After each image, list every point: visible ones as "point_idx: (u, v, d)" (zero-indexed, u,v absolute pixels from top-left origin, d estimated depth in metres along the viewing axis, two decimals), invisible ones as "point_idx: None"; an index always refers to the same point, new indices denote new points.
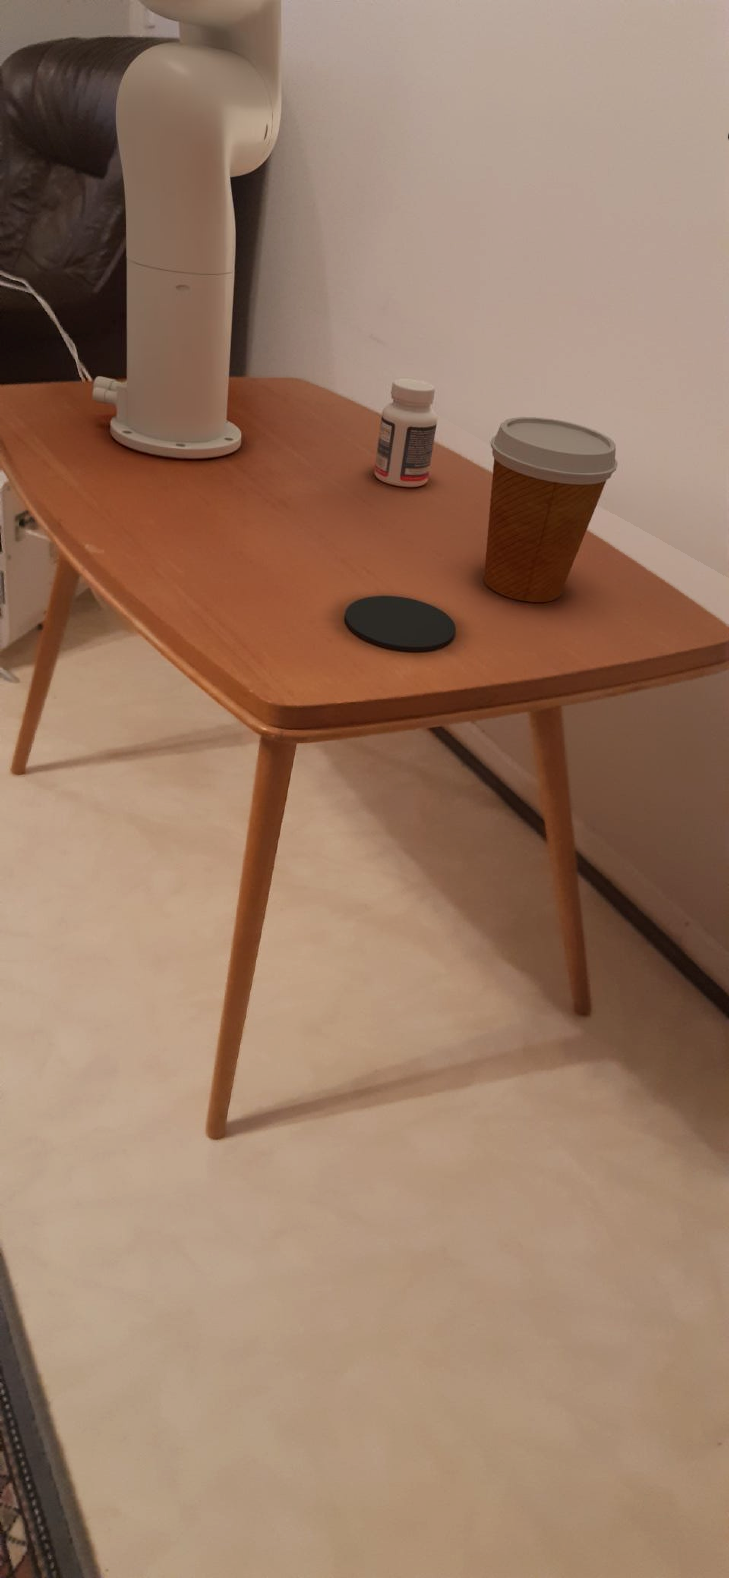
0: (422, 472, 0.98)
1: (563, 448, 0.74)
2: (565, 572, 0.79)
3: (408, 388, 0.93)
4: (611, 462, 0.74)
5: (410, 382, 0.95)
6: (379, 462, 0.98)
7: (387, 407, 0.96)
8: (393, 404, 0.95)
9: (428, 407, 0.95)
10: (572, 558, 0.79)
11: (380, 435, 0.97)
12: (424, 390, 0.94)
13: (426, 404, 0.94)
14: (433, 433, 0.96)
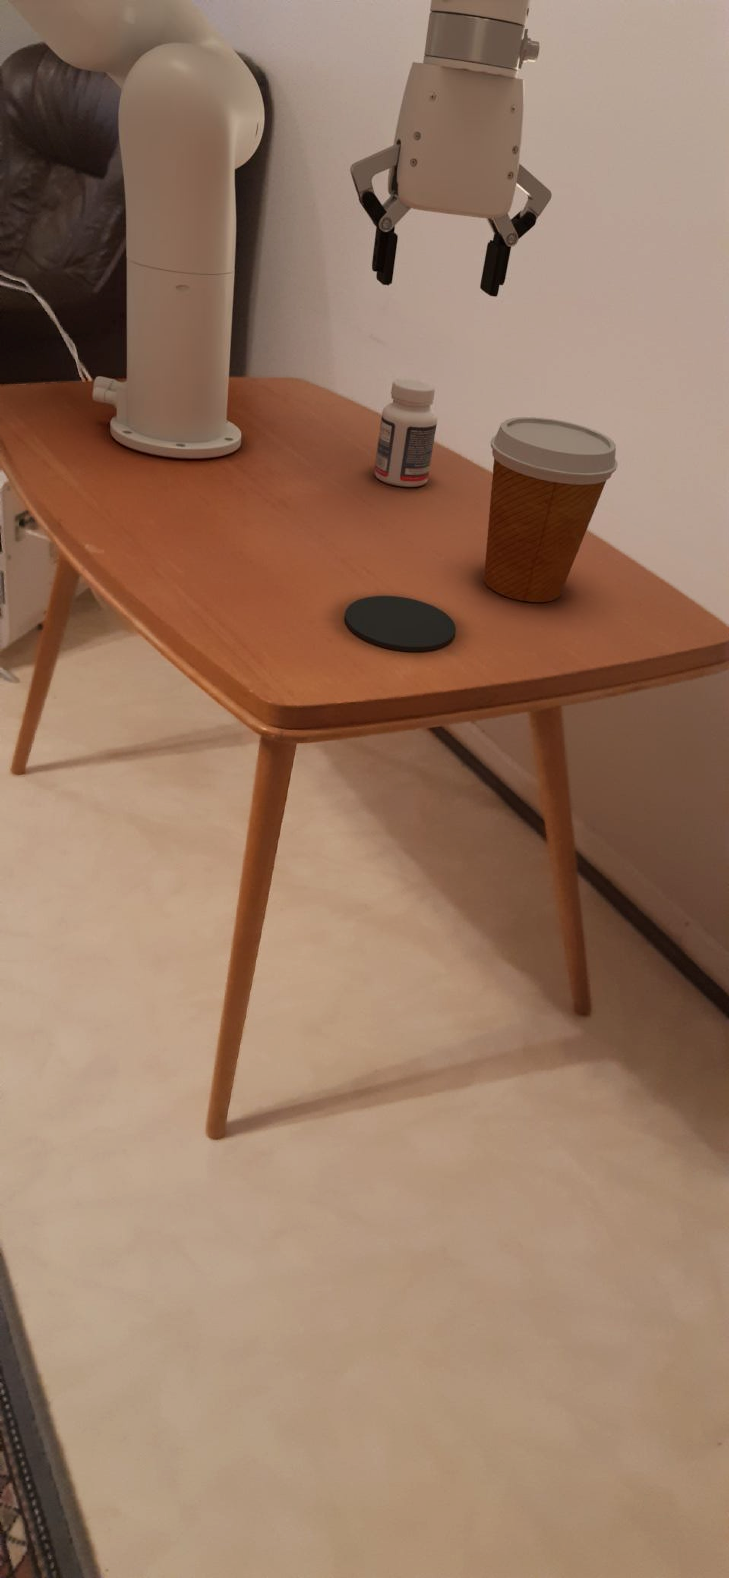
0: (422, 472, 0.98)
1: (563, 448, 0.74)
2: (565, 572, 0.79)
3: (408, 388, 0.93)
4: (611, 462, 0.74)
5: (410, 382, 0.95)
6: (379, 462, 0.98)
7: (387, 407, 0.96)
8: (393, 404, 0.95)
9: (428, 407, 0.95)
10: (572, 558, 0.79)
11: (380, 435, 0.97)
12: (424, 390, 0.94)
13: (426, 404, 0.94)
14: (433, 433, 0.96)
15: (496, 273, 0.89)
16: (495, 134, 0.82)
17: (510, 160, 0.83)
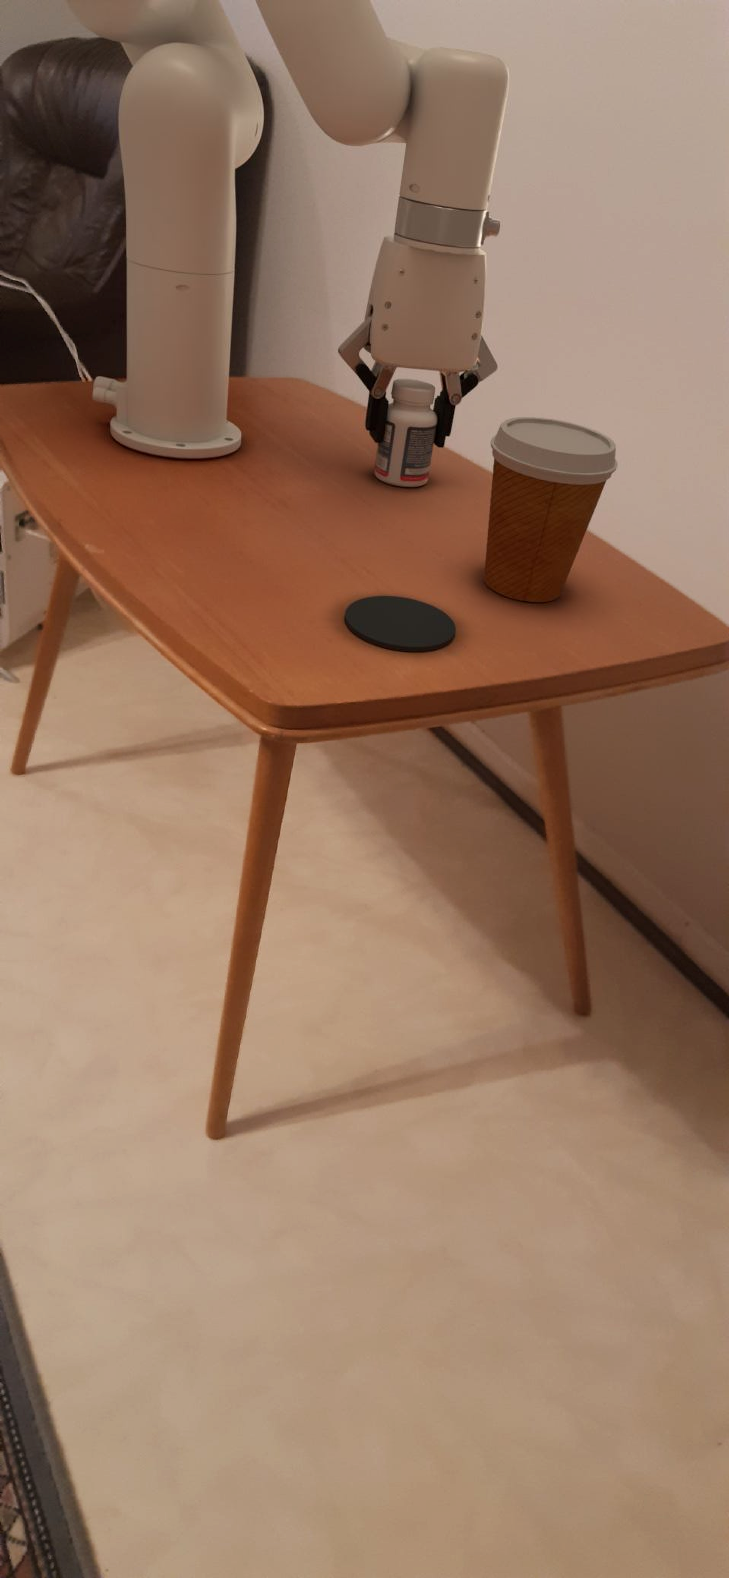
0: (422, 473, 0.98)
1: (563, 448, 0.74)
2: (565, 572, 0.79)
3: (408, 388, 0.93)
4: (611, 462, 0.74)
5: (410, 382, 0.95)
6: (379, 462, 0.98)
7: None
8: (393, 404, 0.95)
9: (428, 407, 0.95)
10: (572, 558, 0.79)
11: None
12: (424, 390, 0.94)
13: (426, 404, 0.94)
14: (433, 433, 0.96)
15: (442, 428, 0.96)
16: (460, 302, 0.89)
17: (474, 323, 0.91)
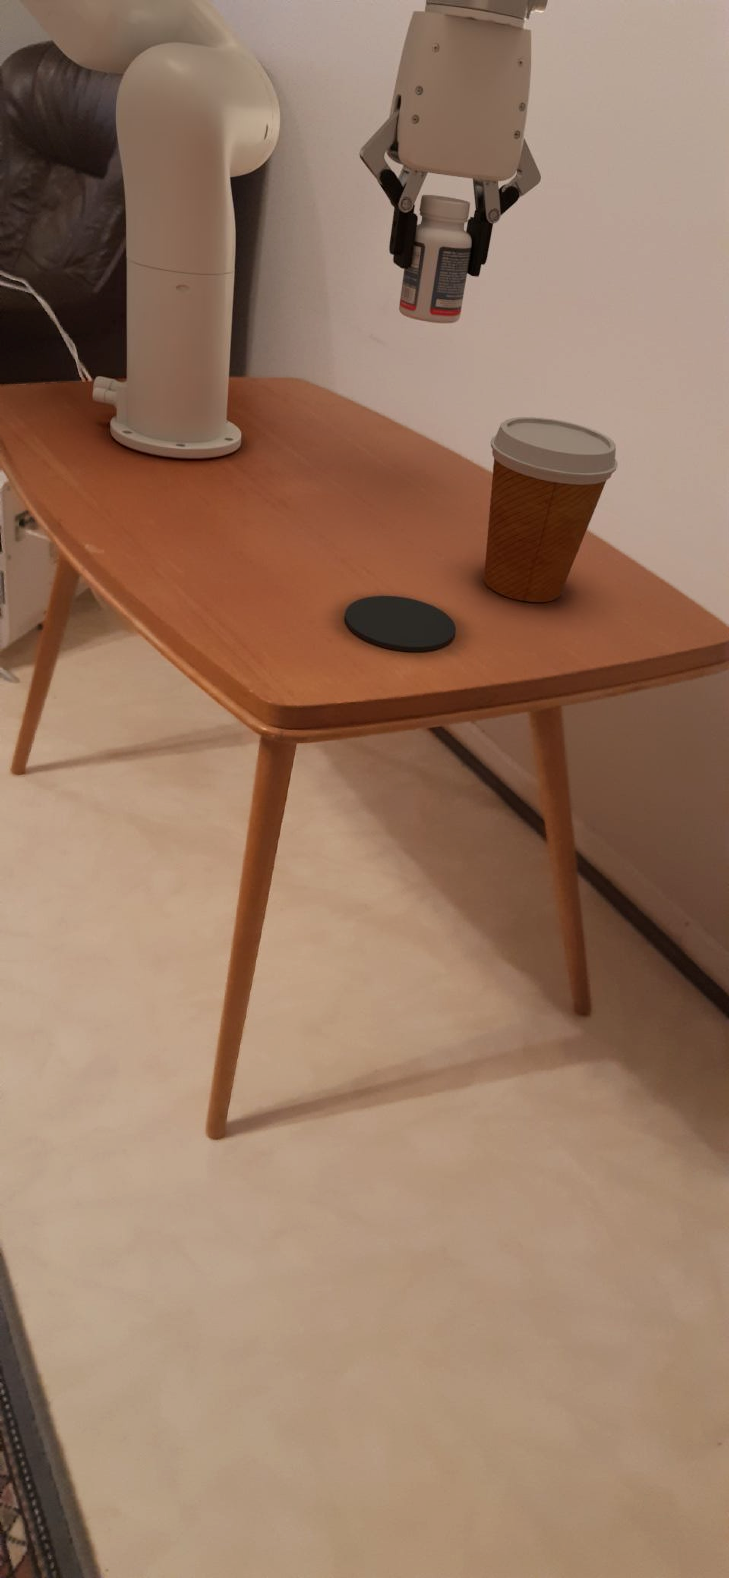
0: (455, 306, 0.85)
1: (563, 448, 0.74)
2: (565, 572, 0.79)
3: (440, 200, 0.81)
4: (611, 462, 0.74)
5: (441, 197, 0.83)
6: (405, 294, 0.85)
7: None
8: (422, 223, 0.83)
9: (462, 226, 0.83)
10: (572, 558, 0.79)
11: None
12: (459, 203, 0.81)
13: (461, 221, 0.82)
14: (468, 258, 0.84)
15: (478, 251, 0.84)
16: (501, 89, 0.77)
17: (517, 118, 0.78)
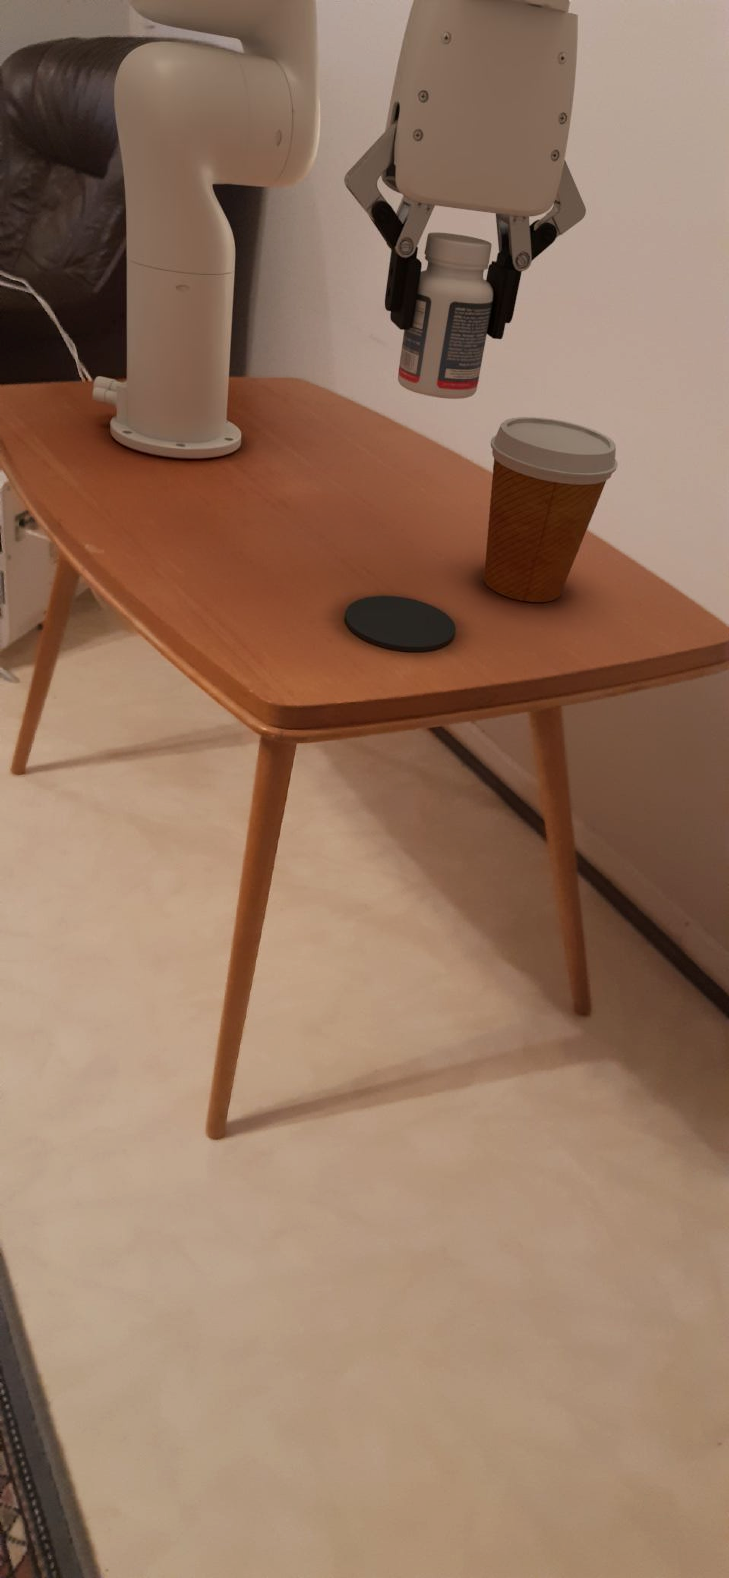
0: (470, 376, 0.65)
1: (563, 448, 0.74)
2: (565, 572, 0.79)
3: (452, 241, 0.61)
4: (611, 462, 0.74)
5: (454, 236, 0.63)
6: (406, 362, 0.65)
7: None
8: (428, 270, 0.63)
9: (481, 274, 0.63)
10: (572, 558, 0.79)
11: None
12: (476, 244, 0.61)
13: (479, 267, 0.62)
14: (488, 315, 0.64)
15: (501, 307, 0.64)
16: (536, 95, 0.57)
17: (556, 133, 0.58)
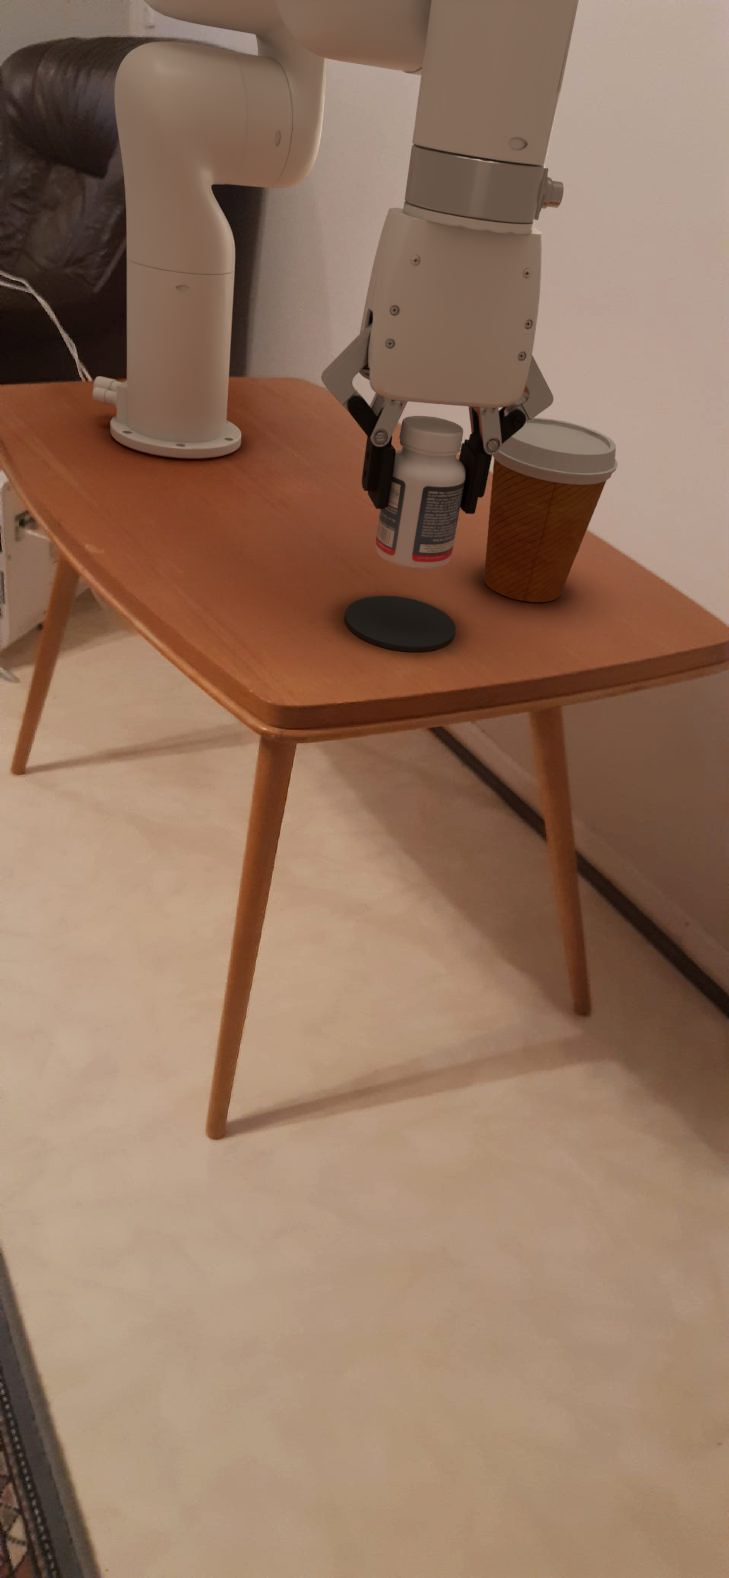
0: (444, 549, 0.68)
1: (563, 448, 0.74)
2: (565, 572, 0.79)
3: (425, 431, 0.64)
4: (611, 462, 0.74)
5: (427, 421, 0.66)
6: (382, 535, 0.68)
7: None
8: (403, 453, 0.66)
9: (453, 457, 0.66)
10: (572, 558, 0.79)
11: None
12: (448, 434, 0.64)
13: (451, 453, 0.65)
14: (460, 494, 0.67)
15: (473, 487, 0.67)
16: (502, 306, 0.60)
17: (522, 337, 0.61)
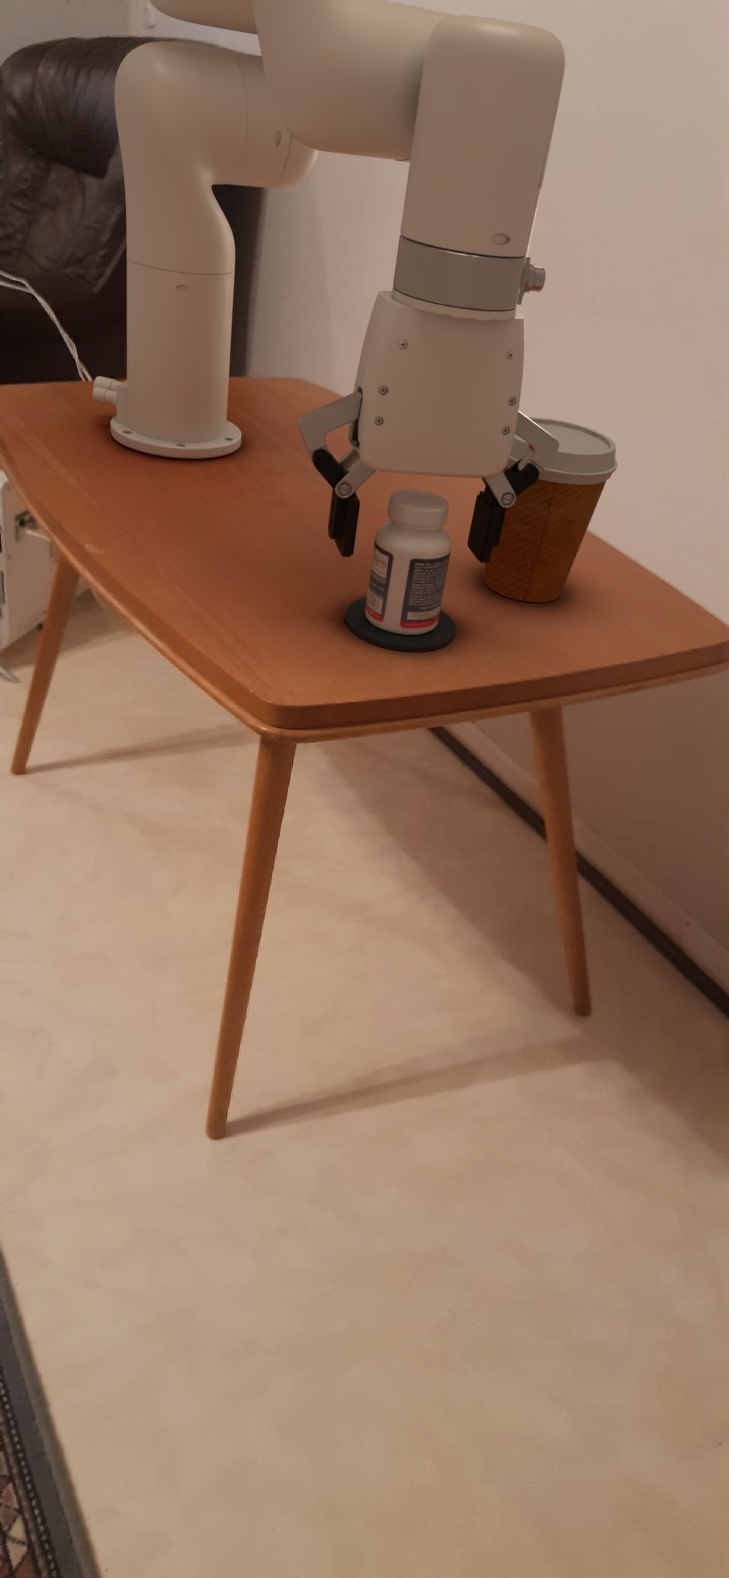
0: (431, 616, 0.71)
1: (563, 448, 0.74)
2: (565, 572, 0.79)
3: (412, 507, 0.67)
4: (611, 462, 0.74)
5: (414, 495, 0.69)
6: (371, 602, 0.71)
7: (382, 529, 0.69)
8: (391, 525, 0.69)
9: (439, 530, 0.69)
10: (572, 558, 0.79)
11: (373, 566, 0.70)
12: (434, 509, 0.67)
13: (437, 527, 0.68)
14: (446, 564, 0.70)
15: (487, 538, 0.69)
16: (486, 385, 0.62)
17: (506, 413, 0.64)
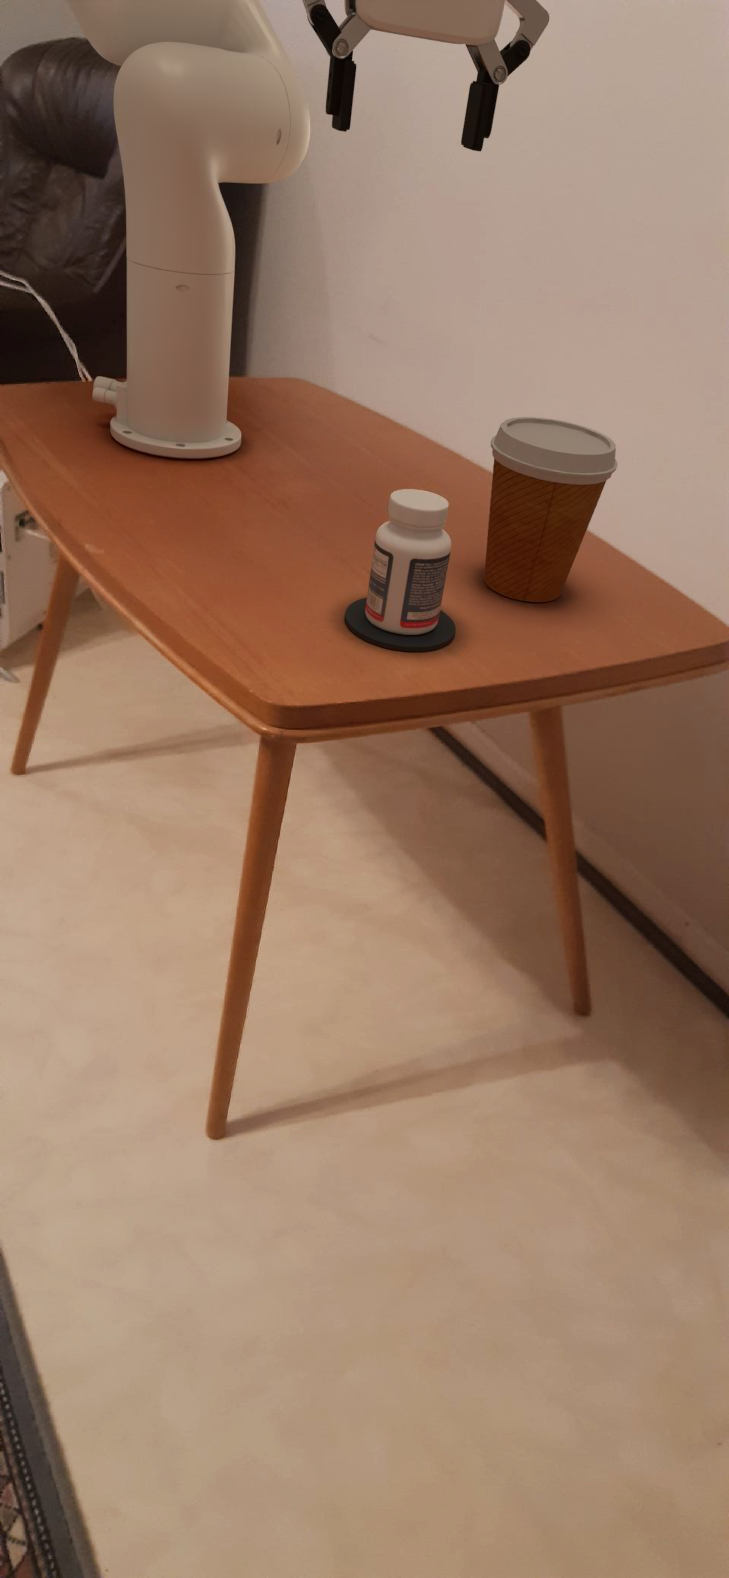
0: (431, 616, 0.71)
1: (563, 448, 0.74)
2: (565, 572, 0.79)
3: (412, 507, 0.67)
4: (611, 462, 0.74)
5: (414, 495, 0.69)
6: (371, 602, 0.71)
7: (382, 529, 0.69)
8: (391, 525, 0.69)
9: (439, 530, 0.69)
10: (572, 558, 0.79)
11: (373, 566, 0.70)
12: (434, 509, 0.67)
13: (437, 527, 0.68)
14: (446, 564, 0.70)
15: (480, 119, 0.71)
16: None
17: None
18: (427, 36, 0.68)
